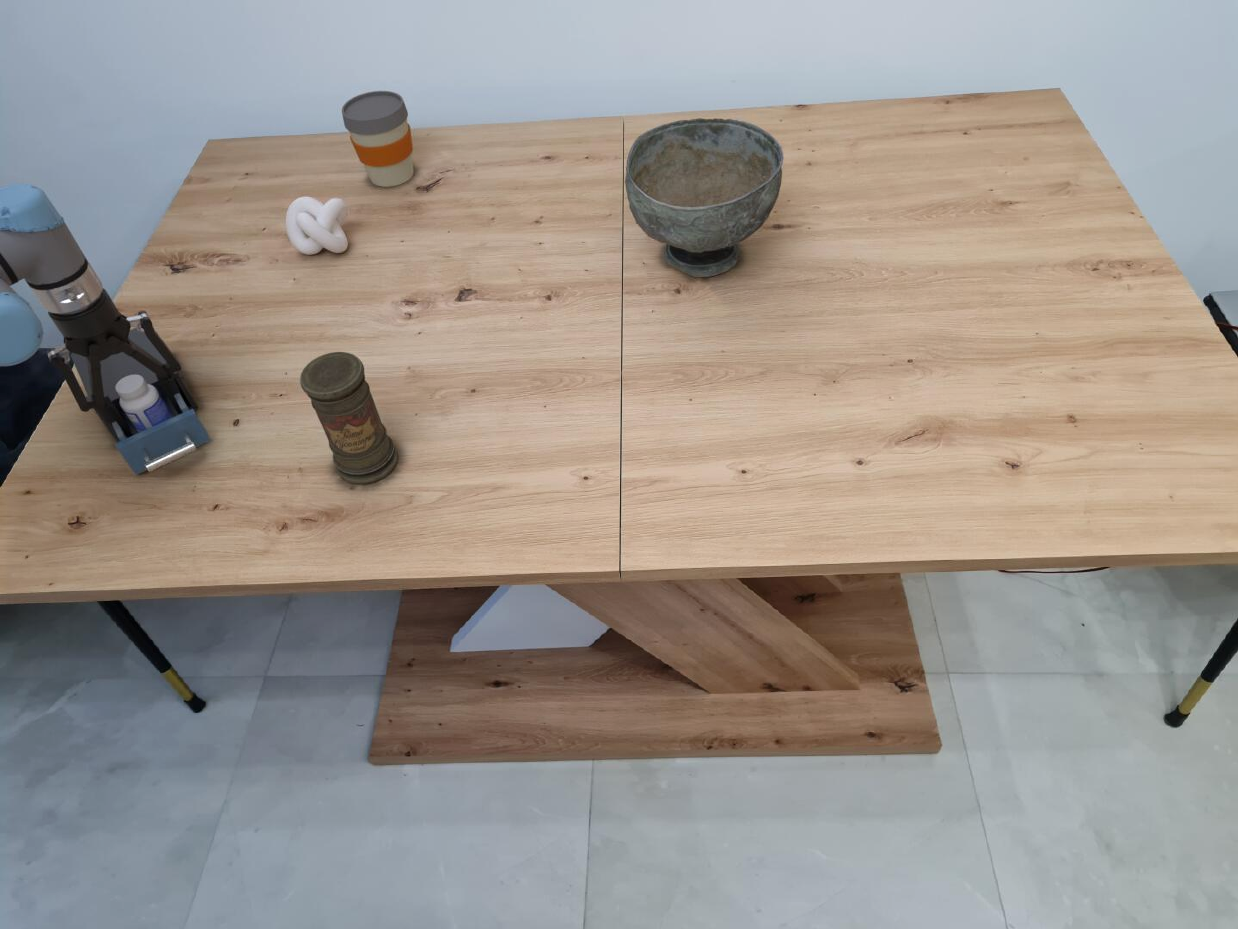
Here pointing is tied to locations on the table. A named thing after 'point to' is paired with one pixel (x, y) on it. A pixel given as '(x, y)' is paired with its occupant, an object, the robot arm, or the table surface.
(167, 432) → the drawer
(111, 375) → the small cabinet
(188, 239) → the table surface
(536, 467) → the table surface
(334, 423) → the container
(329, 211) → the white knot sculpture
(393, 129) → the reusable coffee cup
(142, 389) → the pill bottle
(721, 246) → the decorative bowl
